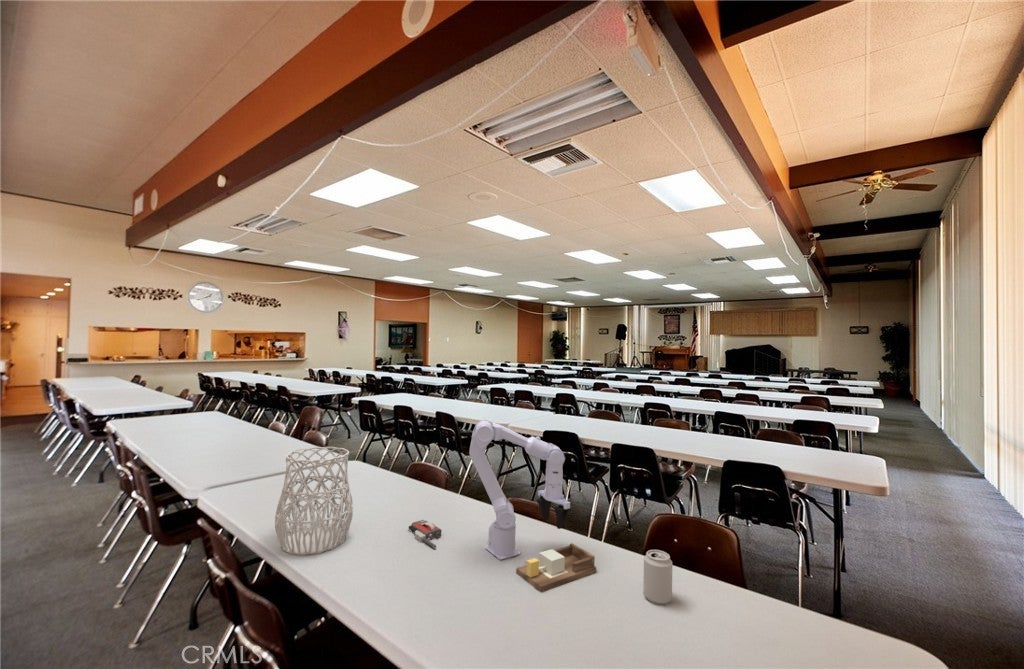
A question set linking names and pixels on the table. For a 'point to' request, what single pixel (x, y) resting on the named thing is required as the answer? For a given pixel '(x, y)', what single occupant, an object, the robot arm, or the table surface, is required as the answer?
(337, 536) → the vase
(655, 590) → the can
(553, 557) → the block
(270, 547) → the table surface
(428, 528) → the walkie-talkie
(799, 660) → the table surface
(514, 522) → the robot arm
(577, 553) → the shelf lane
